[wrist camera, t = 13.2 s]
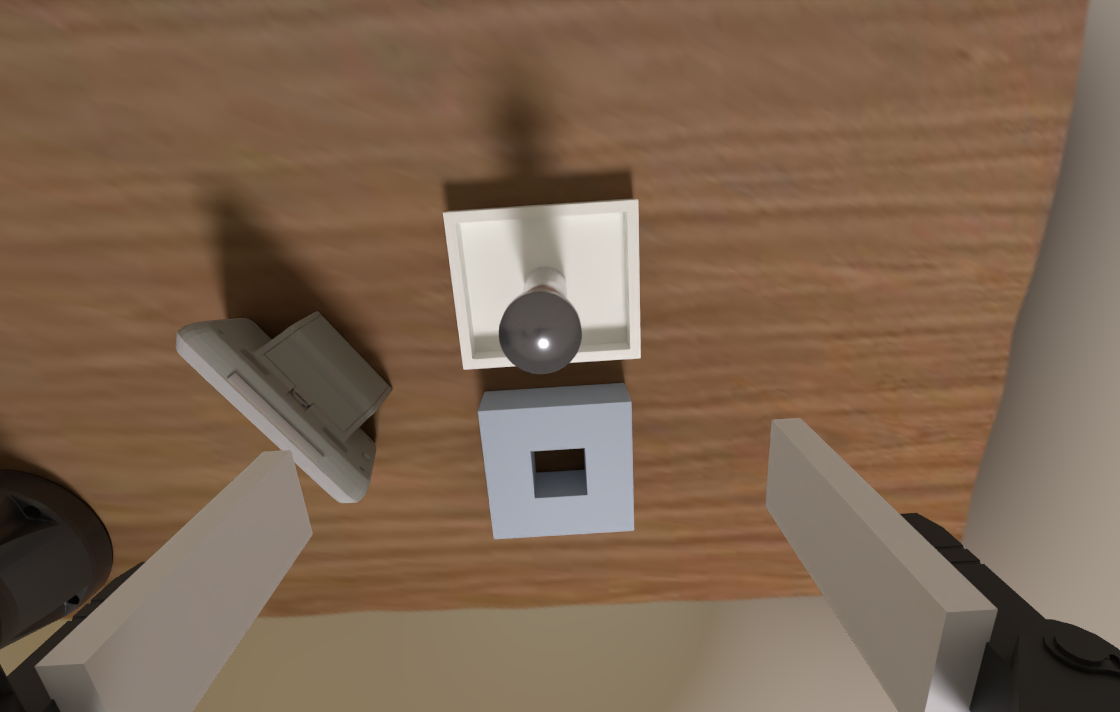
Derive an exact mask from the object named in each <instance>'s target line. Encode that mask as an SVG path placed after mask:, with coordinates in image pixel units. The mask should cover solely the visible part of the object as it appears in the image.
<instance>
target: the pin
mask: <svg viewBox="0 0 1120 712" xmlns="http://www.w3.org/2000/svg"><path fill="white" fill-rule="evenodd" d="M581 340H582V329H581V323H580V318H579V315H578V313H577V311H576V309H575V307H574V306H573V305H572V303H571V302H570V301H569V300H568V299H567V289H566V281H565V279H564V277H563V275H562V274H561V273H560V272H559V271H558V270H556V269H555V268H552V267H546V266H545V267H539V268H537V269H535V270H534V271H532V272H531V273H530V275H529V276H528V278H527V281H526V284H525V286H524V289H523V292H522V294H521V295H519V296H518V297H516V298H515V299H514V300H513V301H512V302H511V303H510V304H509V305H508V307H507V308H506V310H505V312H504V314H503V316H502V319H501V321H500V325H499V342H500V346H501V348H502V351H503V353H504V354H505V356H506V357H507V358H508V360H509V361H510V362H511V363H512V364H514V365H515V366H516V367H518V368H519V369H521V370H523V371H526V372H529V373H534V374H548V373H552V372H555V371H558V370H560V369H562V368H563V367H565V366H566V365H568V364H569V363H570V362H571V361H572V360H573V358H574V357H575V356H576V354H577V352H578V350H579V348H580V345H581Z"/></svg>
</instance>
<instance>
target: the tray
mask: <svg viewBox="0 0 1120 712" xmlns="http://www.w3.org/2000/svg"><path fill="white" fill-rule="evenodd" d="M443 217H444V225H445V232H446V240H447V248H448V255H449V263H450V270H451V278H452V286H453V293H454V301H455V308H456V316H457V324H458V331H459V339H460V346H461V354H462V362H463V369H464V370H466V369H481V368H497V367H512V366H515V365H514V364H512V363H511V362H510V361H509V360H508V358H507V357H506V356H505V354H504V353H503V351H502V348H501V346H500V342H499V325H500V321H501V319H502V316H503V314H504V312H505V310H506V308H507V307H508V305H509V304H510V303H511V302H512V301H513V300H514V299H515V298H516V297H518V296H519V295H521V294H522V292H523V289H524V286H525V284H526V281H527V278H528V276H529V275H530V273H531V272H532V271H534V270H535V269H537V268H539V267H545V266H546V267H552V268H555V269H556V270H558V271H559V272H560V273H561V274H562V275H563V277H564V279H565V281H566V289H567V299H568V300H569V301H570V302H571V303H572V305H573V306H574V307H575V309H576V311H577V313H578V315H579V318H580V323H581V329H582V340H581V345H580V348H579V350H578V352H577V354H576V356H575V357H574V358H573V360H572V361H571V362H570V363H575V362H590V361H606V360H621V359H637V358H641V352H640V285H639V218H638V199H633V198H632V199H617V200H602V201H587V202H573V203H558V204H543V205H528V206H513V207H498V208H483V209H468V210H453V211H447V212H444V213H443Z"/></svg>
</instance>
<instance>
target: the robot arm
mask: <svg viewBox="0 0 1120 712" xmlns="http://www.w3.org/2000/svg"><path fill="white" fill-rule="evenodd" d="M765 507H766V508H767V510H768V511H769V513H770V514H771V516H772V517H773V519H774V520H775V522H776V524H777V525H778V527H779V528H780V530H781V531H782V533H783V534H784V536H785V537H786V539H787V541H788V542H789V544H790V545H791V547H792V548H793V550H794V551H795V553H796V554H797V556H798V557H799V559H800V561H801V562H802V564H803V565H804V567H805V568H806V570H807V571H808V573H809V574H810V576H811V578H812V579H813V581H814V582H815V584H816V585H817V587H818V588H819V590H820V591H821V593H822V594H823V596H824V598H825V599H826V601H827V602H828V604H829V605H830V607H831V608H832V610H833V611H834V613H835V615H836V616H837V618H838V619H839V620H840V622H841V624H842V625H843V627H844V628H845V630H846V631H847V633H848V635H849V636H850V638H851V639H852V641H853V642H854V644H855V645H856V647H857V648H858V650H859V652H860V653H861V655H862V656H863V658H864V659H865V661H866V662H867V664H868V665H869V667H870V669H871V670H872V672H873V673H874V675H875V676H876V678H877V679H878V681H879V682H880V684H881V685H882V687H883V688H884V690H885V692H886V693H887V695H888V696H889V698H890V699H891V701H892V702H893V704H894V705H895V707H896V709H897V710H898V712H1120V650H1119V649H1118V648H1116V647H1115V646H1113V645H1111V644H1110V643H1109V642H1107V641H1105V640H1104V639H1102V638H1101V637H1099V636H1098V635H1096V634H1093V633H1091V632H1089V631H1086V630H1084V629H1082V628H1080V627H1077V626H1075V625H1072V624H1068V623H1064V622H1060V621H1056V620H1051V619H1050V620H1049V619H1045V618H1044V617H1043V616H1042V615H1040V614H1039V613H1038V612H1037V611H1036V610H1035V609H1034V608H1033V607H1032V606H1030V605H1029V604H1028V603H1027V602H1026V601H1025V600H1024V599H1023V598H1021V597H1020V596H1019V595H1018V594H1017V593H1016V592H1015V591H1013V590H1012V589H1011V588H1010V587H1009V586H1008V585H1007V584H1006V583H1005V582H1004V581H1002V580H1001V579H1000V578H999V577H998V576H997V575H996V574H995V573H993V572H992V571H991V570H990V569H989V568H988V567H987V566H986V565H985V564H981V563H980V560H979V559H978V558H977V557H976V556H974V555H973V554H972V553H971V552H970V551H969V550H968V549H964V548H963V545H962V544H961V543H960V542H959V541H958V540H957V539H955V538H954V537H953V536H952V535H951V534H950V533H949V532H948V531H946V530H945V529H944V528H943V527H941V526H939V525H938V524H936V523H934V522H932V521H930V520H928V519H927V518H925V517H923V516H921V515H919V514H917V513H907V514H899V513H898V512H897V511H896V510H895V509H894V508H893V507H892V506H891V505H890V504H889V503H887V502H886V501H885V500H884V499H883V498H882V497H881V496H880V495H879V494H878V493H877V492H876V491H875V490H874V489H873V488H872V487H871V486H870V485H869V484H868V483H867V482H866V481H865V480H864V479H863V478H862V477H861V476H860V475H859V474H858V473H856V472H855V471H854V470H853V469H852V468H851V467H850V466H849V465H848V464H847V463H846V462H845V461H844V460H843V459H842V458H841V457H840V456H839V455H838V454H837V453H836V452H835V451H834V450H833V449H832V448H831V447H830V446H829V445H828V444H826V443H825V442H824V441H823V440H822V439H821V438H820V437H819V436H818V435H817V434H816V433H815V432H814V431H813V430H812V429H811V428H810V427H809V426H808V425H807V424H806V423H805V422H804V421H803V420H802V419H801V418H792V419H776V420H772V424H771V437H770V451H769V464H768V478H767V491H766V505H765ZM312 535H313V533H312V529H311V525H310V522H309V518H308V514H307V510H306V506H305V502H304V498H303V494H302V491H301V487H300V483H299V479H298V475H297V471H296V467H295V464H294V460H293V456H292V452H291V450H284V451H268V452H262V453H261V454H260V455H259V456H258V457H257V458H256V459H255V460H254V461H253V462H252V463H251V464H250V465H249V466H248V467H246V468H245V469H244V470H243V471H242V472H241V473H240V474H239V475H238V476H237V477H236V478H235V479H234V480H233V481H232V482H231V483H229V484H228V485H227V486H226V487H225V488H224V489H223V490H222V491H221V492H220V493H219V494H218V495H217V496H216V497H215V498H213V499H212V500H211V501H210V502H209V503H208V504H207V505H206V506H205V507H204V508H203V509H202V510H201V511H200V512H199V513H197V514H196V515H195V516H194V517H193V518H192V519H191V520H190V521H189V522H188V523H187V524H186V525H185V526H184V527H183V528H182V529H180V530H179V531H178V532H177V533H176V534H175V535H174V536H173V537H172V538H171V539H170V540H169V541H168V542H167V543H166V544H164V545H163V546H162V547H161V548H160V549H159V550H158V551H157V552H156V553H155V554H154V555H153V556H152V557H151V558H150V559H148V560H147V561H146V562H141V563H139V564H138V565H136V566H134V567H133V568H131V569H130V570H128V571H126V572H125V573H123V574H122V575H120V576H119V577H117V578H115V579H114V580H113V581H111V582H110V583H109V584H108V585H107V586H106V587H105V588H104V589H103V590H102V591H100V592H99V593H98V594H97V595H96V596H95V597H94V598H93V599H92V600H91V603H90V604H86V605H85V606H84V607H83V608H82V609H81V610H80V611H78V612H77V613H76V614H75V615H74V616H73V619H72V621H67V622H66V623H65V624H64V625H63V626H62V627H61V628H60V629H59V630H58V631H57V632H55V633H54V634H53V635H52V636H51V637H50V638H49V639H48V640H47V641H45V643H43V644H42V645H41V646H40V647H39V648H38V649H37V650H36V651H35V652H33V653H32V654H31V655H30V656H29V657H28V658H27V659H26V660H25V661H24V662H22V663H21V664H20V665H19V666H18V667H17V668H16V669H15V670H14V671H12V672H11V673H10V674H9V675H8V676H6V675H5V673H4V671H3V669H2V667H1V665H0V712H193V710H194V709H195V707H196V706H197V704H198V703H199V701H200V700H201V698H202V697H203V695H204V694H205V692H206V691H207V689H208V688H209V687H210V685H211V684H212V682H213V681H214V679H215V678H216V676H217V675H218V673H219V672H220V670H221V669H222V667H223V666H224V664H225V663H226V661H227V660H228V659H229V657H230V655H231V654H232V653H233V651H234V650H235V648H236V647H237V645H238V644H239V642H240V641H241V639H242V638H243V636H244V635H245V634H246V632H247V631H248V629H249V628H250V626H251V625H252V623H253V622H254V620H255V619H256V617H257V616H258V614H259V613H260V611H261V610H262V608H263V607H264V605H265V604H266V603H267V601H268V600H269V598H270V597H271V595H272V594H273V592H274V591H275V589H276V588H277V586H278V585H279V583H280V582H281V580H282V579H283V577H284V576H285V575H286V573H287V572H288V570H289V569H290V567H291V566H292V564H293V563H294V561H295V560H296V558H297V557H298V555H299V554H300V552H301V551H302V549H303V548H304V546H305V545H306V544H307V542H308V541H309V539H310V538H311V536H312ZM111 568H112V549H111V544H110V541H109V538H108V536H107V533H106V531H105V529H104V528H103V526H102V524H101V523H100V521H99V520H98V519H97V517H96V516H95V515H94V514H93V512H92V511H91V510H90V509H89V508H88V507H87V506H86V505H85V504H84V503H83V502H81V501H80V500H79V499H78V498H77V497H75V496H74V495H73V494H71V493H70V492H68V491H67V490H65V489H63V488H62V487H60V486H58V485H56V484H54V483H52V482H50V481H48V480H45V479H42V478H40V477H37V476H34V475H30V474H26V473H22V472H16V471H4V470H0V649H2V648H4V647H6V646H8V645H10V644H12V643H14V642H16V641H18V640H20V639H22V638H23V637H25V636H27V635H29V634H31V633H33V632H35V631H37V630H39V629H41V628H43V627H45V626H47V625H49V624H51V623H53V622H55V621H57V620H59V619H61V618H63V617H65V616H67V615H68V614H70V613H72V612H73V611H75V610H76V609H78V608H79V607H80V606H81V605H83V604H84V603H85V602H86V601H87V600H88V599H89V598H90V597H91V596H93V595H94V594H95V593H96V592H97V591H98V590H99V589H100V588H101V587H102V586H103V585H104V583H105V582H106V580H107V579H108V577H109V574H110V571H111Z"/></svg>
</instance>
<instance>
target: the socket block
mask: <svg viewBox="0 0 1120 712" xmlns="http://www.w3.org/2000/svg"><path fill="white" fill-rule="evenodd" d="M478 416H479V424H480V432H481V440H482V448H483V456H484V464H485V472H486V480H487V488H488V496H489V504H490V512H491V520H492V528H493V536H494V539H506V538H522V537H539V536H555V535H571V534H588V533H604V532H620V531H634V500H633V454H632V408H631V399H630V396H629V394H628V391H627V388H626V385H625V383H612V384H597V385H581V386H565V387H550V388H534V389H518V390H503V391H487V392H484V394H483V397H482V400H481V403H480V406H479V410H478ZM578 448H584V464H585V470H572V471H556V472H540V473H536V465H535V453H534V451H546V450H562V449H578Z"/></svg>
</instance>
